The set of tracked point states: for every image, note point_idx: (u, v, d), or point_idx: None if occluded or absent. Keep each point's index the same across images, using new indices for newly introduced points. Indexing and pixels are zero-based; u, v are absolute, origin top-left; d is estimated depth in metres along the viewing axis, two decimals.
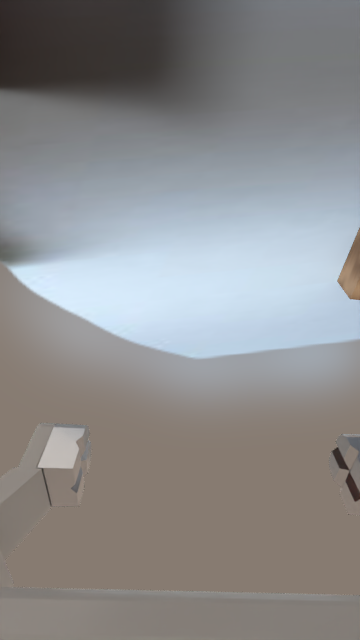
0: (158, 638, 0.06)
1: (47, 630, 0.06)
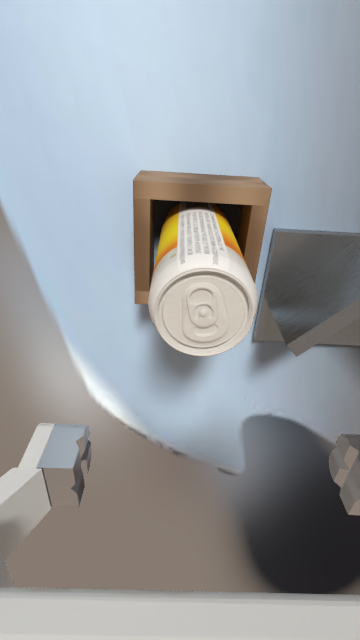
0: (158, 638, 0.06)
1: (47, 629, 0.06)
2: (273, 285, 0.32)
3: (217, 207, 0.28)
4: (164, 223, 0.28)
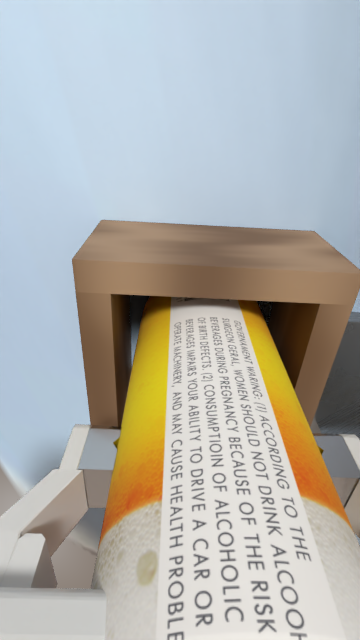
0: None
1: (47, 630, 0.06)
2: (327, 397, 0.20)
3: None
4: (144, 319, 0.15)
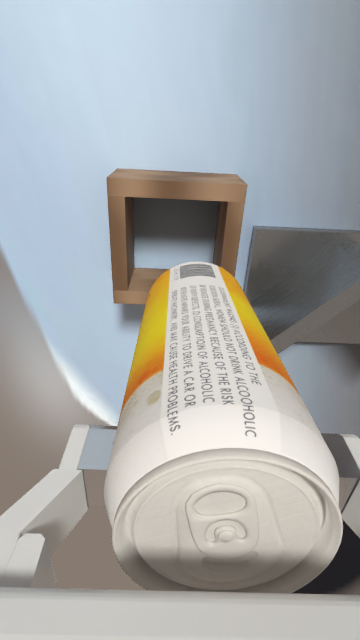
0: (158, 638, 0.06)
1: (47, 630, 0.06)
2: (255, 283, 0.32)
3: (226, 272, 0.19)
4: (148, 299, 0.18)
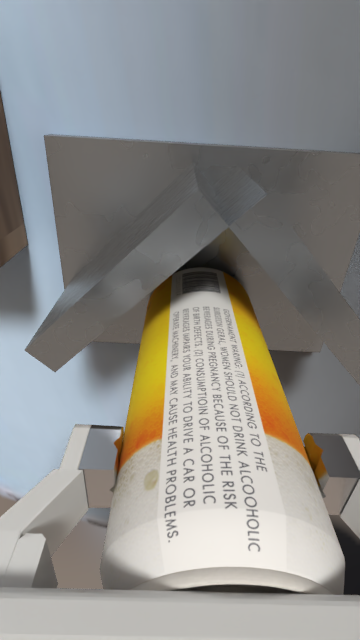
0: (158, 638, 0.06)
1: (47, 629, 0.06)
2: (72, 243, 0.18)
3: (232, 279, 0.18)
4: (149, 310, 0.17)
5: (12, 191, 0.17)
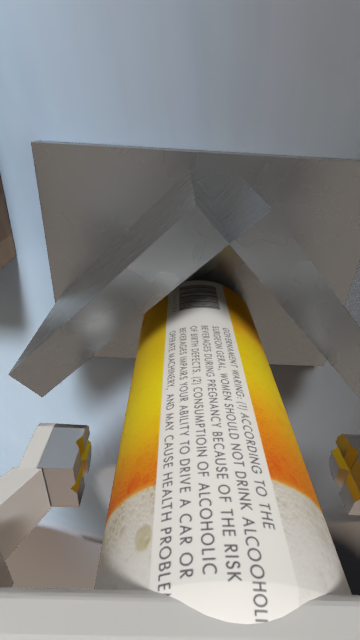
0: (158, 638, 0.06)
1: (47, 630, 0.06)
2: (62, 255, 0.17)
3: (232, 293, 0.17)
4: (144, 327, 0.16)
5: None
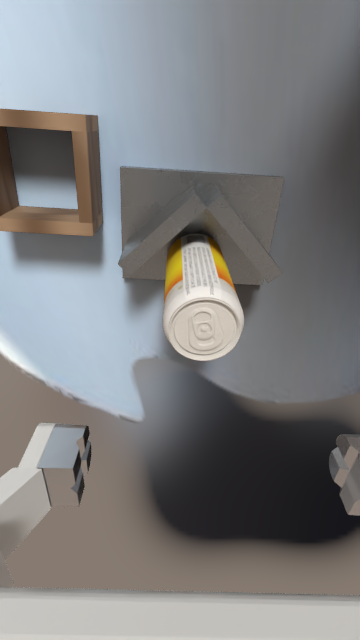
0: (158, 638, 0.06)
1: (46, 630, 0.06)
2: (128, 221, 0.35)
3: (211, 239, 0.35)
4: (169, 254, 0.34)
5: (100, 193, 0.34)
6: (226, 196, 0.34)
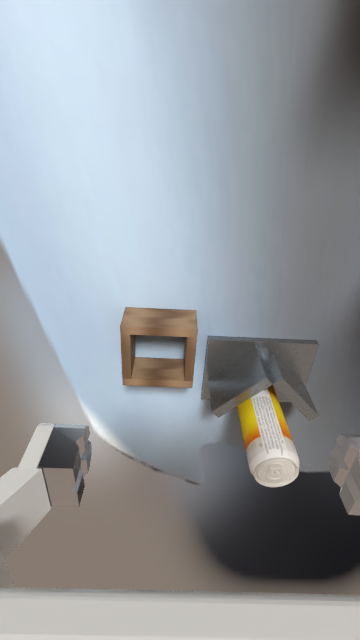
0: (158, 638, 0.06)
1: (47, 629, 0.06)
2: (210, 367, 0.52)
3: None
4: None
5: None
6: (278, 354, 0.50)
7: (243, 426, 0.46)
